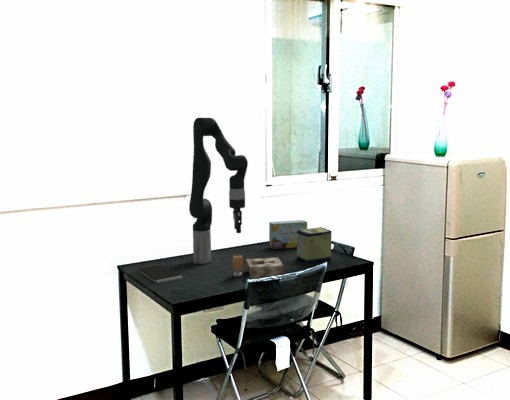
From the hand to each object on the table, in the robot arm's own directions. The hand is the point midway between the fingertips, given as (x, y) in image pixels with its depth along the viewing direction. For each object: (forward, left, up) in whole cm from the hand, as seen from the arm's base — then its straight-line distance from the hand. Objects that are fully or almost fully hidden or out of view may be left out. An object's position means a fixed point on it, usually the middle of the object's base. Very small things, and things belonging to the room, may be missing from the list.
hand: (237, 230), depth 280 cm
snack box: (+34, +49, -22) cm, 64 cm away
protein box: (+43, +23, -22) cm, 53 cm away
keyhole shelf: (+13, 0, -22) cm, 26 cm away
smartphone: (-38, +9, -23) cm, 46 cm away
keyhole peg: (0, 0, -22) cm, 22 cm away
